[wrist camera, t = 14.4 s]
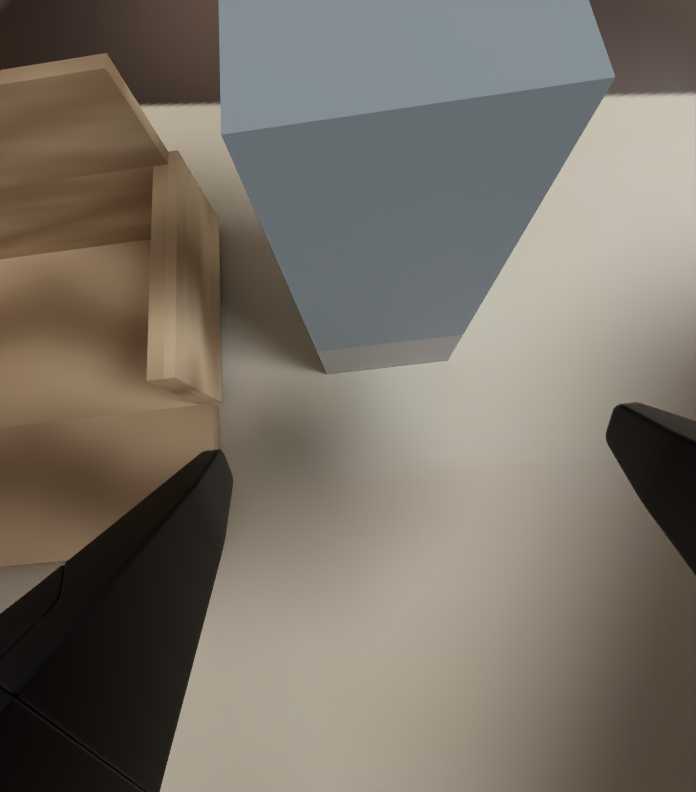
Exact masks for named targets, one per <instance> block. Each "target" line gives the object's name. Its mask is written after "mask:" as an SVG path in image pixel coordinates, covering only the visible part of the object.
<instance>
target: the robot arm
mask: <svg viewBox="0 0 696 792" xmlns="http://www.w3.org/2000/svg"><path fill="white" fill-rule="evenodd" d="M606 441H607V444H608V446H609V447H610V449H611V451H612V453H613V454H614V456H615V458H616V459H617V461H618V463H619V464H620V466H621V468H622V470H623V471H624V473H625V475H626V476H627V478H628V480H629V481H630V483H631V485H632V487H633V488H634V490H635V492H636V493H637V495H638V496H639V498H640V500H641V501H642V503H643V504H644V506H645V507H646V509H647V510H648V511H649V513H650V514H651V515H652V517H653V518H654V520H655V521H656V522H657V524H658V525H659V526H660V528H661V529H662V530H663V532H664V533H665V535H666V536H667V537H668V539H669V540H670V541H671V543H672V544H673V545H674V547H675V548H676V549H677V551H678V552H679V554H680V555H681V556H682V558H683V559H684V560H685V562H686V563H687V564H688V566H689V567H690V569H691V570H692V571H693V573H694V574H695V575H696V421H693V420H690V419H687V418H684V417H681V416H678V415H675V414H672V413H669V412H666V411H663V410H660V409H657V408H654V407H651V406H648V405H644V404H641V403H636V402H634V403H625V404H619V405H617V406H616V407H615V408H614V409H613V412H612V415H611V418H610V422H609V425H608V428H607V432H606ZM232 487H233V477H232V474H231V471H230V468H229V466H228V463H227V461H226V458H225V455H224V453H223V452H222V451H221V450H219V449H215V450H206V451H203V452H201V453H200V454H199V455H197V456H196V457H195V458H194V459H192V460H191V461H190V462H189V463H188V464H186V465H185V466H184V467H183V468H181V469H180V470H179V471H178V472H176V473H175V474H174V475H173V476H171V477H170V478H169V479H168V480H167V481H165V482H164V483H163V484H162V485H160V486H159V487H158V488H157V489H155V490H154V491H153V492H152V493H150V494H149V495H148V496H147V497H146V498H144V499H143V500H142V501H141V502H139V503H138V504H137V505H136V506H134V507H133V508H132V509H131V510H129V511H128V512H127V513H126V514H125V515H123V516H122V517H121V518H120V519H118V520H117V521H116V522H115V523H113V524H112V525H111V526H110V527H108V528H107V529H106V530H105V531H104V532H102V533H101V534H100V535H99V536H97V537H96V538H95V539H94V540H92V541H91V542H90V543H89V544H87V545H86V546H85V547H84V548H82V549H81V550H80V551H79V552H78V553H76V554H75V555H74V556H73V557H71V558H70V559H69V560H68V561H66V562H65V566H60V567H59V568H58V569H56V570H55V571H54V572H53V573H52V574H50V575H49V576H48V577H47V578H45V579H44V580H43V581H42V582H40V583H39V584H38V585H37V586H35V587H34V588H33V589H32V590H30V591H29V592H28V593H26V594H25V595H24V596H23V597H21V598H20V599H19V600H18V601H16V602H15V603H14V604H12V605H11V606H10V607H9V608H7V609H6V610H5V611H3V612H2V613H1V614H0V792H160V788H161V784H162V780H163V776H164V773H165V769H166V765H167V761H168V757H169V754H170V750H171V746H172V742H173V738H174V734H175V731H176V727H177V723H178V719H179V715H180V711H181V708H182V704H183V700H184V696H185V692H186V689H187V685H188V681H189V677H190V673H191V669H192V666H193V662H194V658H195V654H196V650H197V647H198V643H199V639H200V635H201V631H202V627H203V624H204V620H205V616H206V612H207V608H208V604H209V601H210V597H211V593H212V589H213V585H214V582H215V578H216V574H217V570H218V566H219V562H220V559H221V555H222V551H223V546H224V541H225V536H226V529H227V522H228V515H229V508H230V501H231V494H232Z"/></svg>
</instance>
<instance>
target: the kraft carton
mask: <svg viewBox="0 0 696 792" xmlns="http://www.w3.org/2000/svg"><path fill="white" fill-rule="evenodd" d="M218 403H222V359H221V305H220V250H219V219H218V217H217V215H216V214H215V212H214V210H213V209H212V207H211V205H210V204H209V202H208V200H207V199H206V197H205V195H204V194H203V192H202V190H201V189H200V187H199V185H198V183H197V182H196V180H195V178H194V177H193V175H192V173H191V172H190V170H189V168H188V167H187V165H186V163H185V162H184V160H183V158H182V157H181V155H180V153H179V151H178V150H177V151H170V152H168V151H167V149H166V148H165V146H164V144H163V143H162V141H161V140H160V138H159V136H158V135H157V133H156V132H155V130H154V128H153V127H152V125H151V124H150V122H149V120H148V119H147V117H146V116H145V114H144V112H143V111H142V109H141V108H140V106H139V104H138V103H137V101H136V100H135V98H134V97H133V95H132V93H131V92H130V90H129V88H128V87H127V85H126V84H125V82H124V80H123V79H122V77H121V76H120V74H119V72H118V71H117V69H116V68H115V66H114V65H113V63H112V61H111V60H110V58H109V57H108V55H107V53H104V54H98V55H92V56H86V57H79V58H73V59H67V60H61V61H55V62H48V63H43V64H36V65H30V66H24V67H17V68H11V69H5V70H0V567H6V566H16V565H27V564H37V563H48V562H58V561H68V560H69V559H70V558H71V557H73V556H74V555H75V554H76V553H78V552H79V551H80V550H81V549H82V548H84V547H85V546H86V545H87V544H89V543H90V542H91V541H92V540H94V539H95V538H96V537H97V536H99V535H100V534H101V533H102V532H104V531H105V530H106V529H107V528H108V527H110V526H111V525H112V524H113V523H115V522H116V521H117V520H118V519H120V518H121V517H122V516H123V515H125V514H126V513H127V512H128V511H129V510H131V509H132V508H133V507H134V506H136V505H137V504H138V503H139V502H141V501H142V500H143V499H144V498H146V497H147V496H148V495H149V494H150V493H152V492H153V491H154V490H155V489H157V488H158V487H159V486H160V485H162V484H163V483H164V482H165V481H167V480H168V479H169V478H170V477H171V476H173V475H174V474H175V473H176V472H178V471H179V470H180V469H181V468H183V467H184V466H185V465H186V464H188V463H189V462H190V461H191V460H192V459H194V458H195V457H196V456H197V455H199V454H200V453H201V452H203V451H206V450H215V449H219V428H218Z"/></svg>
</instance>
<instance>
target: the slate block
mask: <svg viewBox="0 0 696 792" xmlns="http://www.w3.org/2000/svg"><path fill="white" fill-rule="evenodd" d="M219 44H220V91H221V92H220V95H221V135H222V137H223V140H224V142H225V144H226V147H227V149H228V151H229V153H230V156H231V158H232V160H233V162H234V165H235V167H236V169H237V171H238V174H239V176H240V178H241V181H242V183H243V185H244V187H245V190H246V192H247V194H248V196H249V199H250V201H251V203H252V206H253V208H254V210H255V212H256V215H257V217H258V219H259V221H260V224H261V226H262V228H263V230H264V233H265V235H266V237H267V240H268V242H269V244H270V246H271V249H272V251H273V253H274V255H275V258H276V260H277V262H278V264H279V267H280V269H281V271H282V274H283V276H284V278H285V280H286V283H287V285H288V287H289V289H290V292H291V294H292V296H293V299H294V301H295V303H296V305H297V308H298V310H299V312H300V314H301V317H302V319H303V321H304V323H305V326H306V328H307V330H308V333H309V335H310V337H311V339H312V342H313V344H314V346H315V348H316V351H317V353H318V355H319V357H320V360H321V362H322V364H323V367H324V369H325V371H326V373H327V374H334V373H343V372H352V371H360V370H369V369H378V368H387V367H395V366H404V365H413V364H422V363H431V362H439V361H448V359H449V357H450V356H451V354H452V352H453V351H454V349H455V347H456V345H457V344H458V342H459V340H460V339H461V337H462V335H463V334H464V332H465V330H466V329H467V327H468V325H469V324H470V322H471V320H472V318H473V317H474V315H475V313H476V312H477V310H478V308H479V307H480V305H481V303H482V302H483V300H484V298H485V296H486V295H487V293H488V291H489V290H490V288H491V286H492V285H493V283H494V281H495V280H496V278H497V276H498V275H499V273H500V271H501V269H502V268H503V266H504V264H505V263H506V261H507V259H508V258H509V256H510V254H511V253H512V251H513V249H514V247H515V246H516V244H517V242H518V241H519V239H520V237H521V236H522V234H523V232H524V231H525V229H526V227H527V226H528V224H529V222H530V220H531V219H532V217H533V215H534V214H535V212H536V210H537V209H538V207H539V205H540V204H541V202H542V200H543V198H544V197H545V195H546V193H547V192H548V190H549V188H550V187H551V185H552V183H553V182H554V180H555V178H556V177H557V175H558V173H559V171H560V170H561V168H562V166H563V165H564V163H565V161H566V160H567V158H568V156H569V155H570V153H571V151H572V149H573V148H574V146H575V144H576V143H577V141H578V139H579V138H580V136H581V134H582V133H583V131H584V129H585V128H586V126H587V124H588V122H589V121H590V119H591V117H592V116H593V114H594V112H595V111H596V109H597V107H598V106H599V104H600V102H601V100H602V99H603V97H604V95H605V94H606V92H607V90H608V89H609V87H610V85H611V84H612V82H613V80H614V78H615V75H614V72H613V69H612V66H611V63H610V61H609V57H608V55H607V52H606V49H605V46H604V43H603V40H602V37H601V35H600V32H599V29H598V26H597V23H596V20H595V17H594V14H593V11H592V9H591V6H590V3H589V0H219Z"/></svg>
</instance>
